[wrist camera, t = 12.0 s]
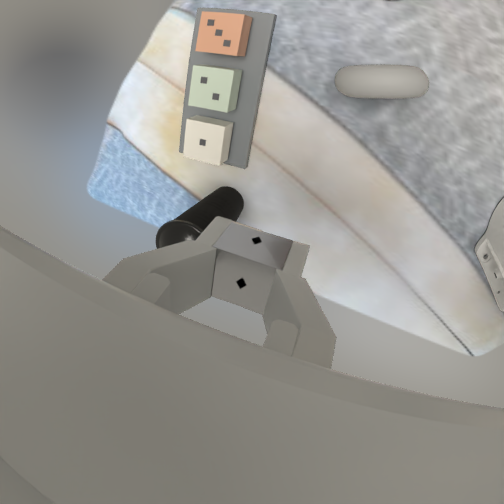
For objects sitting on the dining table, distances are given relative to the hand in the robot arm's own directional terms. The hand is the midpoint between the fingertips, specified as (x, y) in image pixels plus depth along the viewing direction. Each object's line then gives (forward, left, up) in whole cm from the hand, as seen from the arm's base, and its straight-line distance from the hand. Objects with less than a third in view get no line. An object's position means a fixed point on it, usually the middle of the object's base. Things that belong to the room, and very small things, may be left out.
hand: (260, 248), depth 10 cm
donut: (+1, -7, -31) cm, 32 cm away
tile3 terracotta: (+15, +5, -30) cm, 33 cm away
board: (+10, +10, -31) cm, 34 cm away
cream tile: (+5, +15, -30) cm, 33 cm away
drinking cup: (-4, +20, -31) cm, 37 cm away
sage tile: (+10, +10, -29) cm, 33 cm away
